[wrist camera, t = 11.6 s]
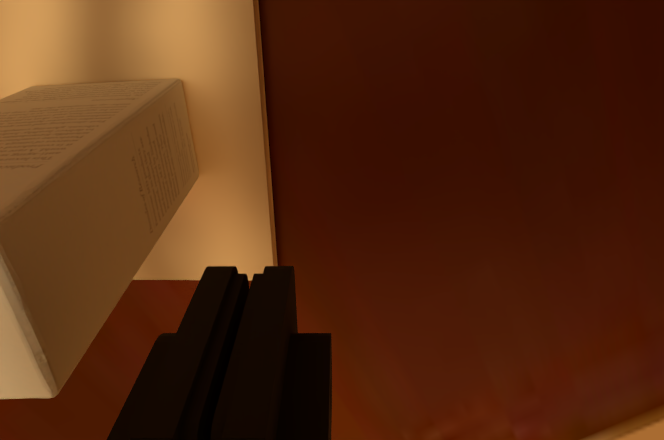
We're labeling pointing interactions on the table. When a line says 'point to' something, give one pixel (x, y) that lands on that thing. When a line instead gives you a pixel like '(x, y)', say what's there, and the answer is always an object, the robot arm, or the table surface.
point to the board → (201, 102)
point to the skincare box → (80, 214)
